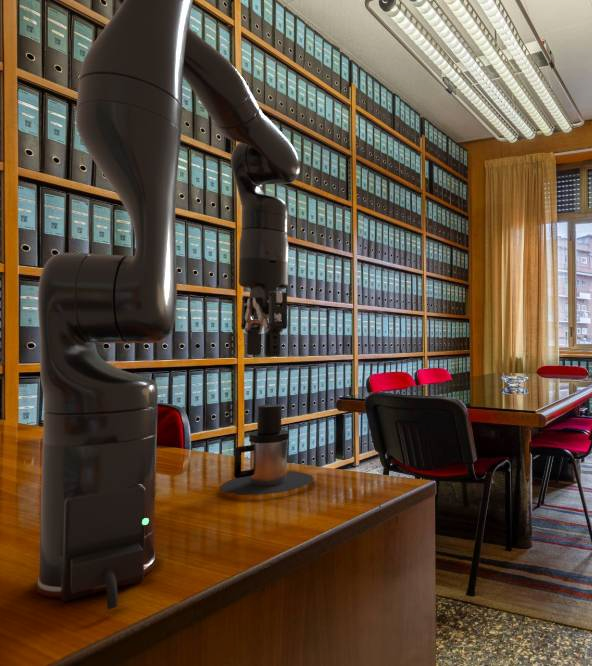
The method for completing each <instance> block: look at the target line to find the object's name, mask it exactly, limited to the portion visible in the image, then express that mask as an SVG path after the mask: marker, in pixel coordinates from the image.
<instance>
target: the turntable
mask: <svg viewBox="0 0 592 666" xmlns="http://www.w3.org/2000/svg"><path fill="white" fill-rule="evenodd" d="M313 480H314V477H313V475H311V474H309V473H306V472H301V471H293V470H291V471H288V470H287V480H286V482H284V483H281V484H278V485H273V486H261V487H260V486H252V485H250V476H247V477H241V478H235V477H234V478H232V479H230V480H227V481H226V482H223V483H222V484H221V485H220V490H221V491H222V492H224V493H226V494H232V495H239V496H240V495H244V496H254V495H255V496H256V495H257V496H259V495H269V494H276V493H277V494H278V493H282V492H288V491H292V490H296V489H299V488H302V487H304V486H307V485H309V484H310V483H312V482H313Z"/></svg>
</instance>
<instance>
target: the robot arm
mask: <svg viewBox="0 0 592 666" xmlns="http://www.w3.org/2000/svg"><path fill="white" fill-rule="evenodd" d="M193 1H194V0H116V2H117V3H118V4H119V5H120V6H119V8H118V9H117V11H116V12H115V14H114V15H113V16H112V18H111V19H110V20H109V21H108V23H107V24H106V25H105V27H104V28H103V29H102V30H101V32H100V34H98V36H97V38H96V39H95V40H94V42H93V43H92V45H91V46H90V47H89V50H88V51H87V53H86V55H85V57H84V59H83V61H82V63H81V67H80V71H79V75H78V76H79V77H78V86H77V98H76V111H75V125H76V130H77V133H78V136H79V138H80V140H81V143H82V144H83V146H84V148H85V149H86V151H87V153H88V154H89V156H90V157H91V159H92V161H93V162H94V163H95V165H96V166H97V168H98V169H99V170H100V172H101V174H102V175H103V176H104V177H105V179H106V180H107V181H108V183H109V185H110V186H111V187H112V188H113V190H114V192H115V193H116V194H117V196H118V197H119V200H120V202H121V203H122V205H123V207H124V209H125V210H126V213H127V214H128V216H129V219H130V220H131V224H132V229H133V233H134V240H135V252H134V255H124V254H123V255H122V254H121V255H120V254H104V253H90V252H89V253H85V252H84V253H83V252H60V253H56V254H54V255H52V256H51V257H50V258H49V259H48V260H47V261H46V263H44V266H43V268H42V270H41V274H40V277H39V282H38V291H37V310H38V329H39V351H40V352H39V353H40V357H39V358H40V360H39V362H40V363H39V364H40V365H39V366H40V368H39V369H40V372H39V373H40V374H39V375H40V384H41V388H42V393H43V394H42V395H43V420H42V422H43V423H42V424H43V425H42V450H41V451H42V452H41V483H40V485H41V486H40V488H41V490H40V519H39V521H40V523H39V527H40V528H39V567H38V568H39V571H38V577H37V584H36V585H37V586H36V587H37V588H36V590H37V593H38V594H40V595H42V596H43V597H49V598H60V599H61V601H62V602H69V601H72V600H76V599H80V598H83V597H87V596H90V595H94V594H95V595H96V594H98V593H103V592H106V610H111V609H115V608H118V605H119V604H118V602H119V601H118V600H119V599H118V598H119V597H118V595H119V594H118V588H121V587H125V586H128V585H133V584H136V583H139V582H142V581H144V580H145V575H147V574H148V573H150V572H151V571H152V570H153V568H154V567H155V565H156V552H155V535H156V534H155V532H156V531H155V530H156V527H155V526H156V525H155V522H156V518H155V517H156V484H157V440H158V439H157V438H158V437H157V436H158V408H159V407H158V404H159V402H158V401H159V389H158V385H157V382H156V381H155V380H153V379H152V378H150V377H147V376H144V375H140V374H136V373H133V372H129V371H127V370H123V369H120V368H118V367H116V366H114V365H112V364H111V363H109V362H107V361H106V360H104V359H103V358H102V357H101V355H100V354H99V352H98V350H97V346H96V344H155V343H162V342H164V341H165V340H166V339H168V338H169V336H170V335H171V333H172V331H173V328H174V325H175V321H176V314H177V303H178V300H177V299H178V280H177V279H178V277H177V242H176V239H177V238H176V235H177V234H176V203H177V202H176V201H177V200H176V199H177V186H178V174H179V173H178V171H179V162H180V161H179V160H180V150H181V139H182V124H183V122H182V120H183V82H184V80H185V82H186V83H187V84H188V86H189V87H190V88H191V90H192V91H193V93H194V94H195V95H196V97H197V99H198V100H199V101H200V103H201V105H202V106H203V108H204V109H205V111H206V112H207V114H208V116H209V117H210V118H211V120H212V121H213V123H214V124H215V126H216V128H217V129H218V130H219V132H220V133H221V134H222V136H223V137H225V139H228V140H229V141H233V142H236V143H237V144H236V145H235V146H234V148H233V150H232V152H231V155H230V165H231V166H230V167H231V170H232V173H233V177H234V181H235V184H236V188H237V193H238V196H239V201H240V205H241V231H240V239H239V250H238V251H239V253H238V285H239V286H241V287H242V288H249V289H250V291H249V295H242V297H241V323H240V324H241V325H240V328H241V330H243V331H244V333H245V334H246V345H245V353H246V355H249V356H259V355H261V354H262V331H263V330H264V340H263V341H264V345H263V346H264V348H263V353H264V356H265V357H279V356H280V355H281V334H282V333H283V330H286V329H287V328H288V293H287V292H286V291H280V290H284V289H287V288H288V287H289V255H290V254H289V253H290V252H289V251H290V250H289V247H290V246H289V239H288V221H289V220H288V219H289V217H288V216H289V215H288V214H289V213H288V211H289V210H288V206H287V203H286V202H285V201H284V200H283V199H281V198H279V197H276V196H273V195H268V194H265V192H264V188H263V185H286V184H291V183H293V182H295V181H296V180H297V178H298V177H299V175H300V173H301V161H300V158H299V155H298V152H297V150H296V148H295V147H294V146H293V143H291V142H290V140H289V139H288V138H287V137H286V135H285V134H284V133H283V132H282V131H281V130H279V128H278V127H277V126H276V125H275V124H274V123H273V122H272V120H270V118H268V116H266V115H265V114H264V113H263V111H262V109H261V107H260V105H259V104H258V102H257V100H256V97H254V94H253V93H252V91H251V89H250V87H249V85H248V84H247V82H246V81H245V79H244V78H243V76H242V75H241V72H240V71H238V69H237V68H236V67H235V66H234V65H233V64H232V63H231V61H229V60H228V59H227V58H226V56H224V55H223V54H222V53H220V52H219V51H218V50H217V49H215V48H214V46H212V45H211V44H209V43H208V42H207V41H205V40H204V39H203V38H202V37H200V35H198V34H197V32H195V31H193V30H192V29H191V28H190V27H189V24H190V17H191V13H192V6H193Z"/></svg>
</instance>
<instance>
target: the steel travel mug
mask: <svg viewBox="0 0 592 666" xmlns="http://www.w3.org/2000/svg"><path fill="white" fill-rule="evenodd" d="M248 438H249V439H248V442H249V443H250V444H248V445H241V446H236V447H234V451H233V477H234V479H235V478H241V477H247V476H250V485H252V486H260V487H261V486H273V485H278V484H281V483H284V482H286V480H287V471H288V440H289V438H290V432H289V430H287V429H282V404H274V403H273V404H269V403H268V404H261V405H257V429H256V430H255V431H252V432H250V433H249V435H248ZM248 452H249V469H246V470H242V453H248Z"/></svg>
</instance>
